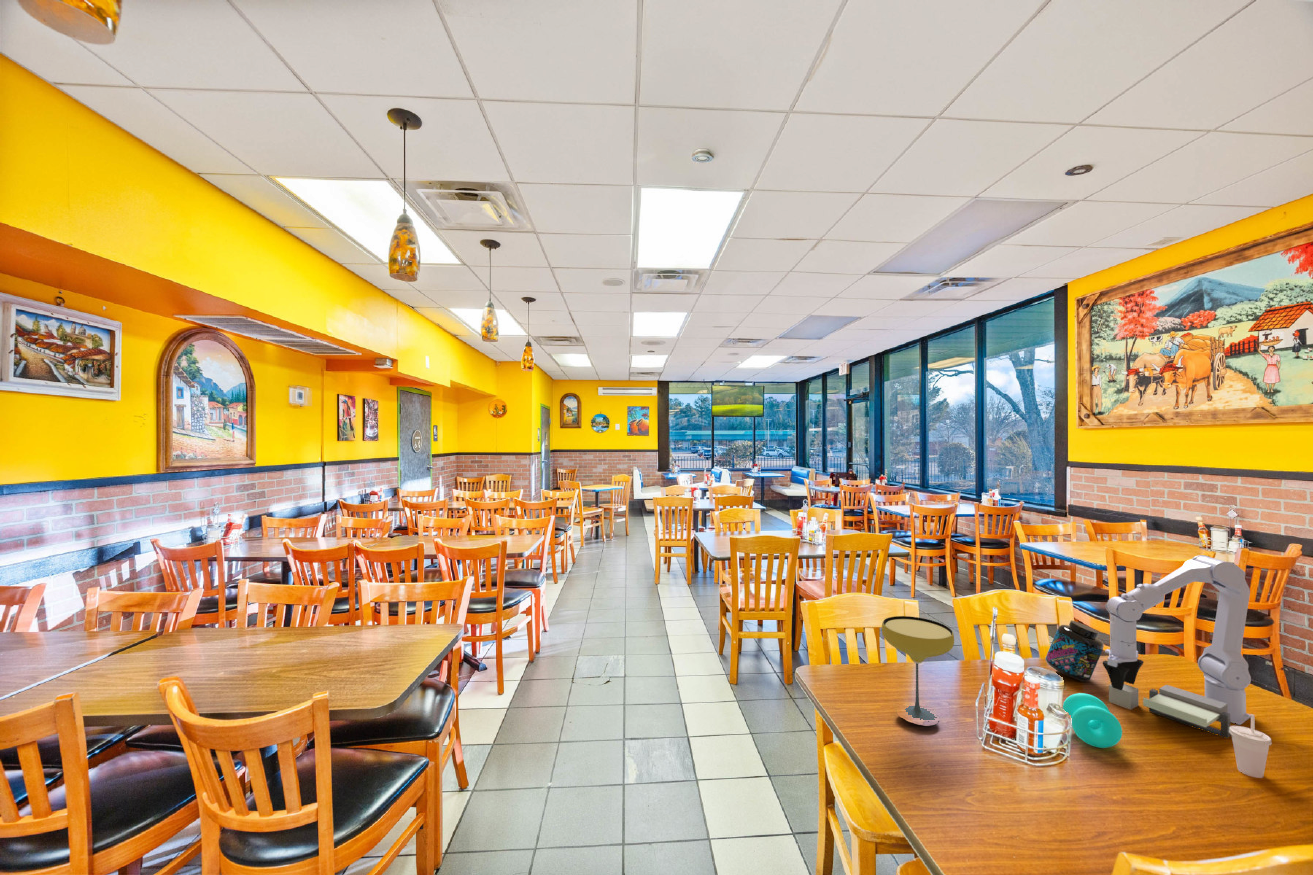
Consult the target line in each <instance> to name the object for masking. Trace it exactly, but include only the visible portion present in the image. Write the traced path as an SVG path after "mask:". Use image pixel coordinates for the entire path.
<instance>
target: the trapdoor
mask: <svg viewBox="0 0 1313 875" xmlns="http://www.w3.org/2000/svg"><path fill="white" fill-rule="evenodd" d="M1158 689H1159V690H1158V695H1156V696H1154V697H1152V698H1150V699H1149V698H1147V697H1143V698H1142V705H1143V707H1147V708H1152V709H1155V710H1157V711H1160V712H1163V713H1166V714H1169V715H1172V716H1174V717H1177V718H1180V719H1183V720H1186V721H1189V722H1192V723H1194V724H1197V725H1200V726H1203V727H1207V726H1210V725H1212V724H1213V723H1214V722H1219V723H1221V713H1223V712H1226V713H1228V708H1227V704H1226V703H1223V702H1220V701H1217V700H1214V699H1210V698H1207V697H1205V695H1204V696H1203V695H1201V694H1197V693H1194V692H1191V691H1187V690H1186V689H1182V688H1179V687H1175V686H1172V685H1168V684H1165V685H1163V686H1161V687H1160V688H1158Z"/></svg>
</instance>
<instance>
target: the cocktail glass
mask: <svg viewBox="0 0 1313 875" xmlns="http://www.w3.org/2000/svg"><path fill="white" fill-rule="evenodd" d="M881 634H882V637H883V638H884V640H885V641H886V642H887V643H888V644H889V645H891V646H892V647H893V648H895V649H897V650H898V651H901V652H903V654H906V655H907V656H909V658H910V659H911V661H913V662H914V664H915V702H914V705H915V706H909V707H908V708H906V709H905V710H906V712H908V715H912V717H913V718H920V720H921V719H923V720H935V719H934V718H937V717H935V716H934V714H932V713H930V711H931V710H930V711H927V709H928V708H926V709H924V708H925V707H923V708H920V707H921V706H920V699H919V698H920V696H919V690H920V688H919V665H920V664H921V663H923V661H925V660H926V659H928V658H933V657H934V658H935V657H939V656H941V655H942V656H943V655H944V654H947V653H948V652H950V651H951V650H952V649H953V648H954V645H955V635H954V631H953V630H952V629H951V628H950V627H949V626H947V625H945V624H943V623H941V622H938V621H935V620H932V619H928V618H923V617H919V616H918V617H917V616H910V615H909V616H907V615H898V616H897V615H895V616H891V617H886V618H885V619H883V621H882V624H881ZM928 722H929V721H928Z"/></svg>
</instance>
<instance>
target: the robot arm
mask: <svg viewBox="0 0 1313 875" xmlns="http://www.w3.org/2000/svg"><path fill="white" fill-rule="evenodd" d="M1245 578H1246V571H1244V569H1243V568H1241V567H1239V566H1238V565H1237V564H1235V563H1233V562H1231V561H1225V560H1222V559H1218V558H1214V557H1211V556H1210V555H1209V556H1208V555H1205V554H1203V555H1202V554H1199V555H1196V556H1193V557H1192V558H1190V559H1188V560H1186V561H1184V563H1183V565H1182V566H1180V567H1179V568H1177V569H1175V570H1173V571H1172V572H1171V573H1169V574H1168V575H1166V576H1164V577H1163V578H1161V579H1160V580H1158V581H1156V582H1155V583H1152V584H1151V583H1146V582H1145V583H1139V584H1137V585H1136V588H1134V589H1131V590H1130V591H1128V592H1126V593H1121V596H1112V597H1110V598H1109V599H1108V600H1107V603H1105V604H1104V607H1105V609H1106V611H1107V612H1108V613H1109V648H1107V649H1105V650H1104V652H1105V654H1108V657H1107V660H1103V661H1102V666H1103V667H1104V668H1105V671H1106V672H1107V675H1108V677H1109V681H1110V684H1111V685H1112V687H1113V688H1115V689H1118V690H1122V689H1123V686H1124V684H1125V683H1127V684H1130V685H1134V684H1135V683H1136V679H1137V676H1138V673H1139V671H1140V669H1141V667H1142V666H1143V665H1144V661H1143V660H1142V659H1139V651H1138V650H1137V621H1139V620H1140V619H1141V618H1142V616H1143V613H1144V612H1145V611H1147V610H1149V609H1151V608H1153V607H1155V606H1156V605H1157V606H1158V605H1159V604H1160V603H1162V602H1164V601H1165V595H1167V594H1169V593H1171V592H1174V591H1176V590H1178V589H1180V588H1183V587H1185V586H1187V585H1189V584H1192V583H1194V582H1196V583H1197V582H1198V583H1205V584H1207V583H1208V584H1210V585H1212V587H1214V588H1215V589H1217V591H1219V594H1218V602H1217V607H1216V615H1215V621H1214V622H1215V623H1214V627H1213V628H1214V629H1213V632H1212V634H1213V635H1212V639H1211V641H1212V642H1211V645H1209V646H1207V647H1206V646H1205V647H1204V648H1203V652H1202V655H1201V656H1199V657H1198V660H1197V667H1198V669H1199V670H1200V671H1201V672H1202V673H1203V677H1204V697H1207V698H1210V699H1214V700H1217V701H1220V702H1223V703H1226V704H1227V708H1228V713H1229V714H1230V723H1233V724H1235V723H1236V724H1235V725H1237V726H1241V725H1242V724H1244V723H1245V722H1246V721H1248V720H1249V719H1251V713H1247V698H1246V697H1247V693H1246V691H1245V688H1247V687H1249V686H1250V684H1251V681H1252V676H1251V675H1250V672H1249V663H1248V661H1247V660H1246V659H1245V657H1244V656H1243V655H1242V647H1243V640H1244V634H1245V627H1246V621H1247V613H1248V610H1249V608H1248V607H1249V602H1250V595H1251V589H1250V586H1249V585H1248V583H1247V580H1246V579H1245Z"/></svg>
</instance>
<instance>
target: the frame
mask: <svg viewBox="0 0 1313 875" xmlns="http://www.w3.org/2000/svg"><path fill="white" fill-rule="evenodd" d="M1148 694H1149V696H1148V699H1150V698H1152V697H1154V696H1156V695H1158V694H1159V690H1157V689H1154V688H1151V689H1149V693H1148ZM1148 708H1149V707H1148ZM1149 712H1150V713H1152V714H1155V715H1158V716H1161V717H1164V718H1166V719H1169V720H1171V721H1175V722H1178V723H1180V724H1182V725H1183V724H1184V725H1186V726H1189V727H1191V726H1193V727H1192V728H1194V727H1195V729H1197V728H1200V729H1203V730H1205V731H1209V732H1211V733H1214V734H1218V735H1220V736H1219V737H1221V736H1222V737H1221V738H1224V737H1226V738H1225V739H1227V738H1228V737H1229V738H1230V737H1232V734H1230V732H1229V727H1230V726H1231V722H1230V714H1229V713H1226V712H1223V713H1221V722H1220V729H1218V728H1215V727H1212V726H1210V725H1209V726H1207V727H1203V726H1200V725H1197V724H1194V723H1192V722H1189V721H1186V720H1183V719H1180V718H1177V717H1174V716H1172V715H1169V714H1166V713H1163V712H1160V711H1157V710H1155V709H1152V708H1149V709H1148V713H1149ZM1200 729H1199V730H1200ZM1205 731H1204V732H1205ZM1211 733H1210V734H1211ZM1214 734H1213V735H1214ZM1229 738H1228V739H1229Z"/></svg>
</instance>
